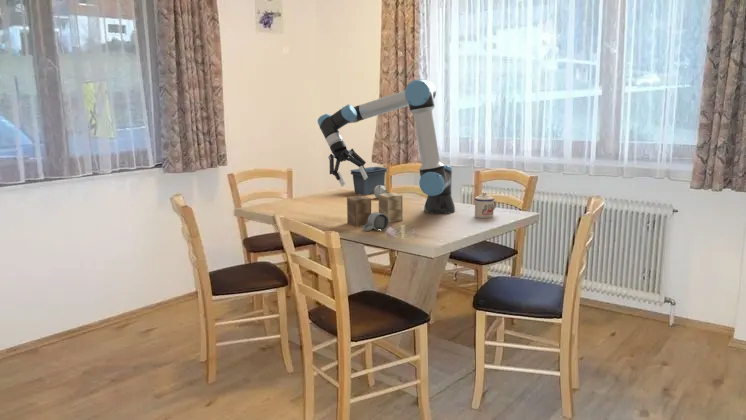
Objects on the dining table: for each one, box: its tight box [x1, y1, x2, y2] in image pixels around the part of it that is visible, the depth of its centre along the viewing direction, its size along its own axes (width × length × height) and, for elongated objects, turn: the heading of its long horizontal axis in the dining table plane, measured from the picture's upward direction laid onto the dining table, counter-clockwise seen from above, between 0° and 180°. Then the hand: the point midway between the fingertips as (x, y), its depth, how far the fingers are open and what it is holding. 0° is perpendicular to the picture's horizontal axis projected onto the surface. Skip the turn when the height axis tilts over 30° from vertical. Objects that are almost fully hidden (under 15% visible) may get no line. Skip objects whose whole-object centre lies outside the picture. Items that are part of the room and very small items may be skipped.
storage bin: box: [349, 166, 388, 196], centre depth 358 cm, size 21×16×14 cm
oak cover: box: [378, 192, 404, 223], centre depth 282 cm, size 8×8×12 cm
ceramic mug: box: [362, 211, 390, 232], centre depth 264 cm, size 11×8×8 cm
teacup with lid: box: [474, 191, 497, 219], centre depth 288 cm, size 12×9×12 cm
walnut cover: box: [346, 195, 372, 227], centre depth 275 cm, size 8×8×12 cm
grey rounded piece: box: [372, 184, 389, 200], centre depth 338 cm, size 9×8×10 cm
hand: (354, 181), depth 291 cm, fingers open, 13 cm apart
